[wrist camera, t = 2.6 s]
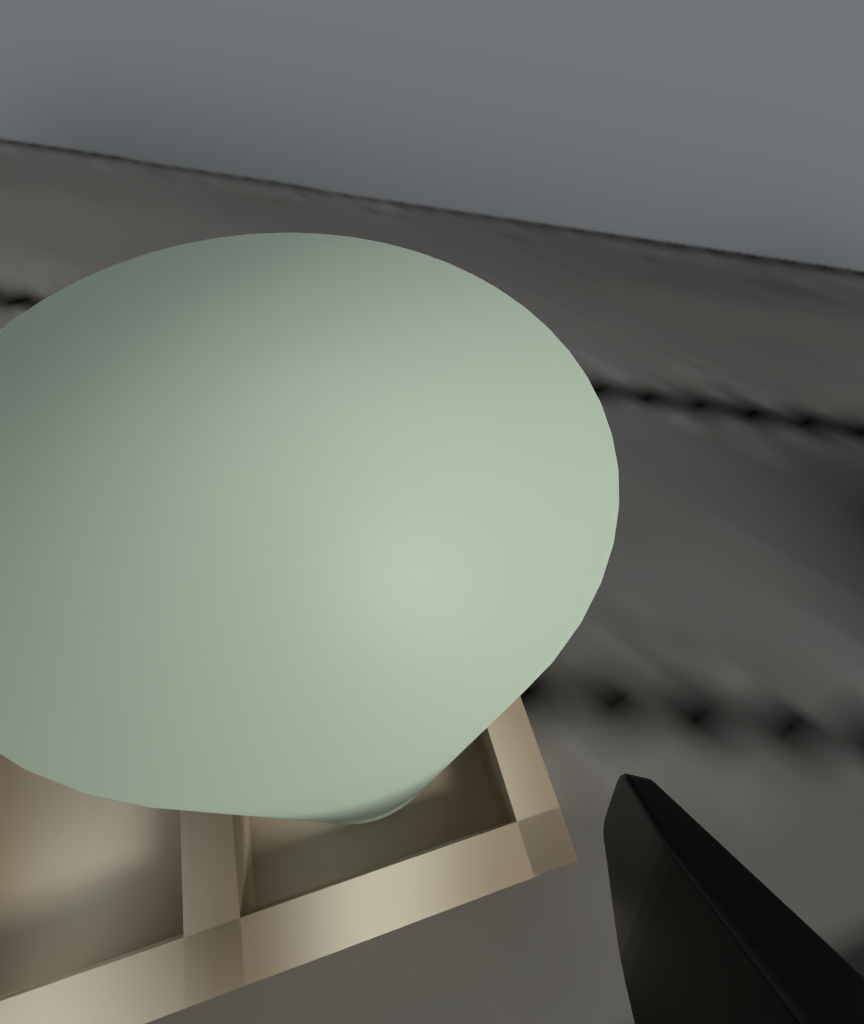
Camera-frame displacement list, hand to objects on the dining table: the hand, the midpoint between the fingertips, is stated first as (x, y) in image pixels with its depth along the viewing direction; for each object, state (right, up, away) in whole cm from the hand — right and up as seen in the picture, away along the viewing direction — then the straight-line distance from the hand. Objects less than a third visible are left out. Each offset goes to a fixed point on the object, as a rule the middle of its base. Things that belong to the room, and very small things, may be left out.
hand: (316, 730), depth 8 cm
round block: (0, -3, +8) cm, 9 cm away
